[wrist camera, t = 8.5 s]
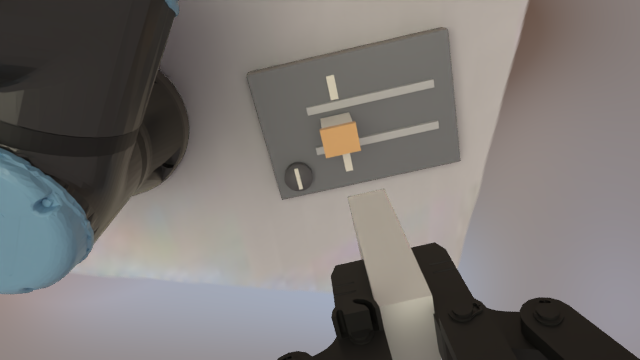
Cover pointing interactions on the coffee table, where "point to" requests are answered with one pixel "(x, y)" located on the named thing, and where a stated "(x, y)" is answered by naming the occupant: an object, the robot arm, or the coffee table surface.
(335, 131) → the fader
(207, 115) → the coffee table surface
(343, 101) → the console
